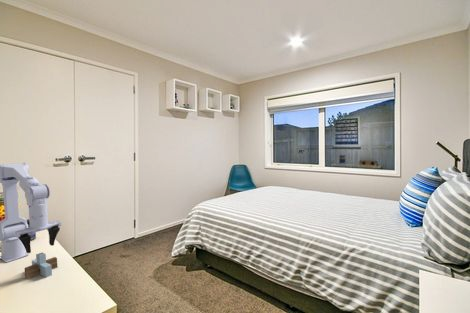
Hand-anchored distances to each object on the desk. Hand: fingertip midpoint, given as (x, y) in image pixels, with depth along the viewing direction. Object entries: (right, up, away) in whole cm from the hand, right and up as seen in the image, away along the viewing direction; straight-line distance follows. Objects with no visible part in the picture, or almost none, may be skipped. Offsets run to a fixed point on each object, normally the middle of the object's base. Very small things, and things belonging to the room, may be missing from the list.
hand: (40, 248), depth 93 cm
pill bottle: (-36, -9, +35) cm, 50 cm away
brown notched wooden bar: (0, -10, 0) cm, 10 cm away
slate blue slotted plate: (0, -10, 0) cm, 10 cm away
